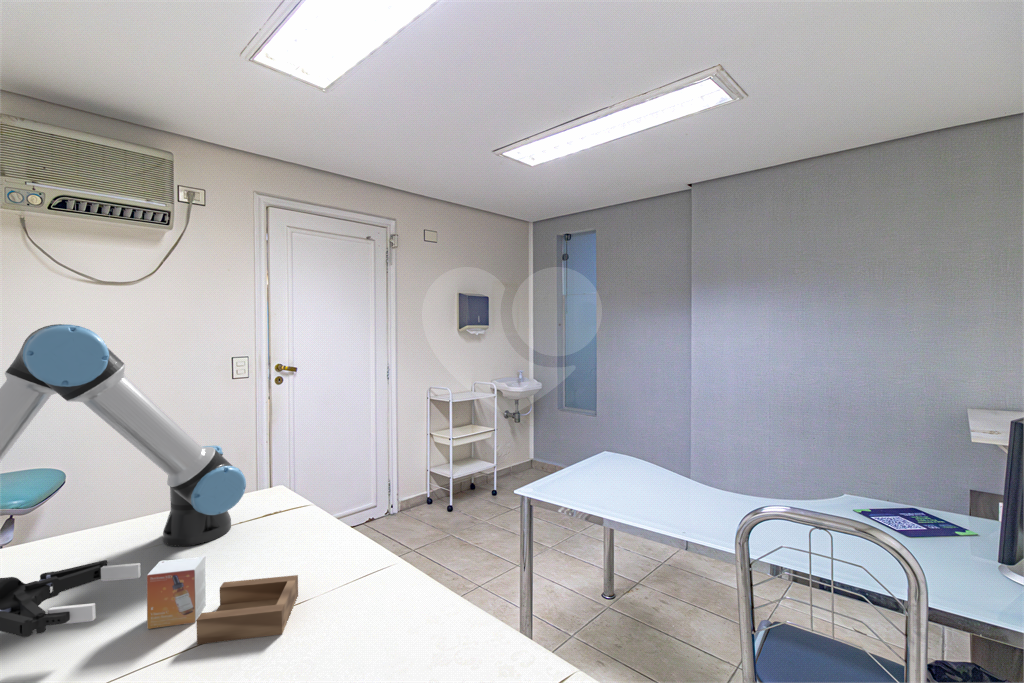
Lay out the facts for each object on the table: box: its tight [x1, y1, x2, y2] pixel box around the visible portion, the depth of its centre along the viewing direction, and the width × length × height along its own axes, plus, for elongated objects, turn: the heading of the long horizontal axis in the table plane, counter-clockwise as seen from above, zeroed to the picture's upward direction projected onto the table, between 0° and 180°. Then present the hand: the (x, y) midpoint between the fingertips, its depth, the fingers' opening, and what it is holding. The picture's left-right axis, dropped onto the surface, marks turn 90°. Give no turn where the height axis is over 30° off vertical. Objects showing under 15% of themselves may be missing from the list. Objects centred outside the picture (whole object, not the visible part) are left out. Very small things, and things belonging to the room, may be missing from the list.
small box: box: [146, 555, 207, 630], centre depth 89 cm, size 8×6×10 cm
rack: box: [195, 574, 299, 645], centre depth 90 cm, size 12×14×4 cm
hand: (118, 589), depth 87 cm, fingers open, 13 cm apart
